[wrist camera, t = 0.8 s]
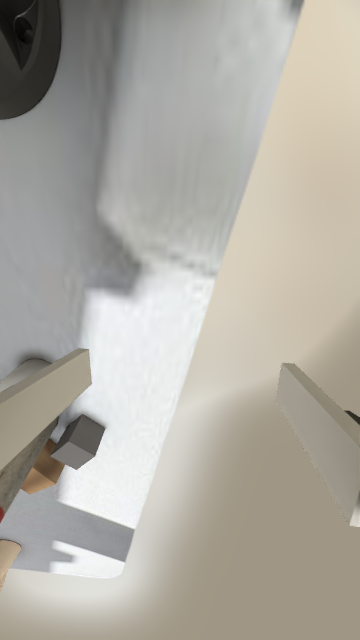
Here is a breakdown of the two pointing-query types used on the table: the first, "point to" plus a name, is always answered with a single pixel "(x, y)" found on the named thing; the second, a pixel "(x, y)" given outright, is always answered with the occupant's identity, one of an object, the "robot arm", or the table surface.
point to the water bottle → (7, 557)
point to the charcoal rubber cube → (78, 442)
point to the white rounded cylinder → (22, 372)
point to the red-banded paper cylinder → (21, 468)
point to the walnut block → (43, 470)
